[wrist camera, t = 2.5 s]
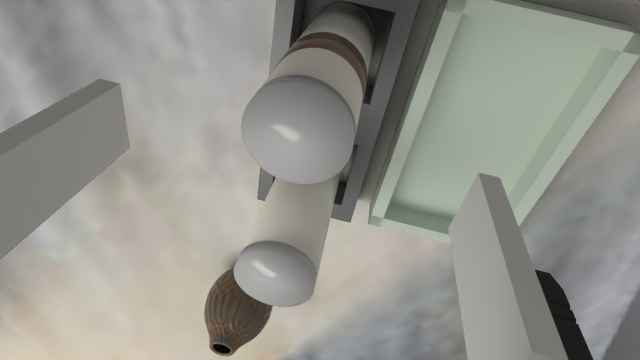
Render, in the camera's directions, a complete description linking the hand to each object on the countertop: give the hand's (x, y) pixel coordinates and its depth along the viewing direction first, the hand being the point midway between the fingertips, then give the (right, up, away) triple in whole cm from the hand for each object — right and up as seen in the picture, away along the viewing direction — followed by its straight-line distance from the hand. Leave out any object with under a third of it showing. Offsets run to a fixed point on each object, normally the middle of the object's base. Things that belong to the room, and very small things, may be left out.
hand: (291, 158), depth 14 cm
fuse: (+1, +2, +17) cm, 17 cm away
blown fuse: (+3, +9, +11) cm, 15 cm away
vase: (-7, -12, +29) cm, 32 cm away
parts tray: (+12, +3, +14) cm, 19 cm away
